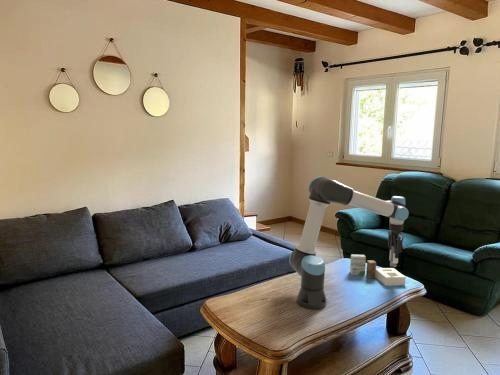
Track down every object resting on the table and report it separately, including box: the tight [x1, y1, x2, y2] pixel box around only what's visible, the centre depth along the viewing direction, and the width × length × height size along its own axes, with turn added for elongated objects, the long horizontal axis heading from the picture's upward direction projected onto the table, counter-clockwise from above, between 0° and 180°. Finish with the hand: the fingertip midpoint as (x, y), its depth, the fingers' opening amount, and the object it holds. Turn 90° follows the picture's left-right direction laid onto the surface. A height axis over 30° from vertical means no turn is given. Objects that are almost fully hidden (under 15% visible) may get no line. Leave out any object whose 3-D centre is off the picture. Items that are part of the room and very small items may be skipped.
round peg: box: [389, 245, 398, 268], centre depth 213 cm, size 4×4×12 cm
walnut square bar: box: [365, 259, 377, 279], centre depth 222 cm, size 4×4×10 cm
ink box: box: [349, 254, 367, 276], centre depth 227 cm, size 9×5×12 cm, turn 84°
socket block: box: [375, 267, 406, 287], centre depth 218 cm, size 12×14×5 cm
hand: (393, 261), depth 213 cm, fingers closed on round peg, 3 cm apart
